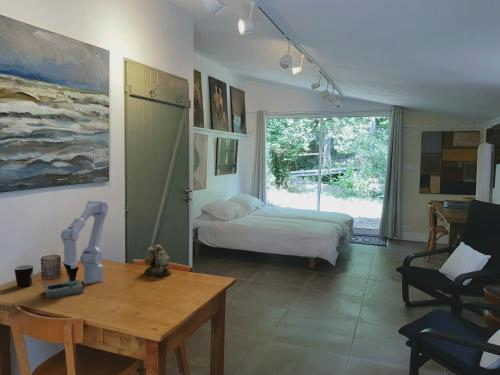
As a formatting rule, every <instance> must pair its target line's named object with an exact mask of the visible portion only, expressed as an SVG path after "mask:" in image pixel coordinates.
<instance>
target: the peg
mask: <svg viewBox="0 0 500 375" xmlns="http://www.w3.org/2000/svg"><path fill="white" fill-rule="evenodd" d="M67 278H68V281H67V282H68V286H72V285H74V281H72V282H71V281H70V278H69V274H68V275H67Z"/></svg>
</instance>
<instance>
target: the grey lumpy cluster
mask: <svg viewBox="0 0 500 375" xmlns="http://www.w3.org/2000/svg"><path fill="white" fill-rule="evenodd" d="M143 262H144V263H145V264H146V265H148V267H147V268H146V269H145V270H144V275H145V274H146V275H145V276H148V277H151V276H154V277H153V278H164V276H167V277H169V276H168V275H170V274H171V275H172V271H171V270H169V265H170V256H168V254H167V253H166V250H165V249H163V247H162V245H161V244H155V245H154V246H153V247H152V246H151V247H148V248H147V253H146V256H145V259H143ZM171 275H170V276H171Z"/></svg>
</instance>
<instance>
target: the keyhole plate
mask: <svg viewBox="0 0 500 375" xmlns="http://www.w3.org/2000/svg"><path fill="white" fill-rule="evenodd" d="M44 294H45V295H46V299H47V300H50V299H56V298H61V297H67V296H73V295H79V294H84V285H83V284H82V282H81V280H80V279H75V281H74V285H72V286H68V281H61V282H55V283H49V284H44Z"/></svg>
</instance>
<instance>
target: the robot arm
mask: <svg viewBox="0 0 500 375" xmlns="http://www.w3.org/2000/svg"><path fill="white" fill-rule="evenodd" d="M108 210H109V205H108V202H107V201H106V200H92V199H91V200H88V201H87V202H86V203H85V208H84V210H83V212H82V213H81V215H80V216H79V217H75V218H74V220H73V221H72V222H71V223H70V225H69V226H68V227H67V228H64V229H63V230H62V231H61V234H60V238H61V240H62V244H63V253H64V261H61V264H62V265H63V266H64V268H65V270H66V275H67V276H68V274H69V278H70V281H71V282H72V281H75V280H77V279H76V278H77V273H78V271H79V269H80V267H79V266H76V265H77V264H78V254H77V253H78V251H77V250H78V248H77V245H78V243H77V240H78V239H79V237H80V235H81V234H80V233H81V231H82V230H83V228H84V227H85V226H86V221H87V220H89V218H91V217H93V224H92V228H91V233H90V236H89V241H88V246H86V248H84V249H83V250H82V253H81V255H80V257H79V262H80V263H81V264H82V266H83V278H82V282H83V283H84V284H85V285H88V284H95V283H101V282H104V266H103V264H102V263H101V262H102V260H103V257H102V254H103V252H102V250H101V249H100V248H99V246H100V242H101V237H102V233H103V229H104V224H105V220H106V217H107V214H108Z"/></svg>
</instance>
